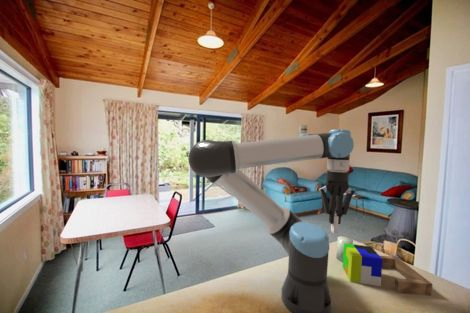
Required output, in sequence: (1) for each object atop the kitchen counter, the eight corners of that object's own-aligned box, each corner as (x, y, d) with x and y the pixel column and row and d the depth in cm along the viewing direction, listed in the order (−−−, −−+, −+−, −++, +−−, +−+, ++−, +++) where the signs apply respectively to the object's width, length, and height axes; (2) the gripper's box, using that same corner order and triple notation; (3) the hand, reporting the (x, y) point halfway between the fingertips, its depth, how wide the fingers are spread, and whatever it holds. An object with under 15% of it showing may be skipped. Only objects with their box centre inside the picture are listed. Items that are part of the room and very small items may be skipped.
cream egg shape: (339, 262, 93) (341, 241, 93) (334, 255, 99) (335, 236, 99) (354, 263, 93) (355, 242, 92) (347, 256, 99) (349, 236, 98)
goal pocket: (397, 293, 75) (398, 281, 74) (368, 264, 93) (369, 255, 92) (431, 295, 74) (432, 284, 74) (395, 265, 92) (396, 256, 92)
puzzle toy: (380, 286, 78) (382, 259, 78) (350, 281, 80) (352, 255, 80) (369, 270, 88) (371, 246, 87) (342, 266, 90) (344, 243, 89)
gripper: (323, 171, 79) (320, 235, 80) (360, 172, 78) (356, 236, 80) (316, 169, 86) (313, 227, 88) (350, 170, 86) (347, 228, 87)
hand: (334, 231), depth 84 cm, fingers closed
